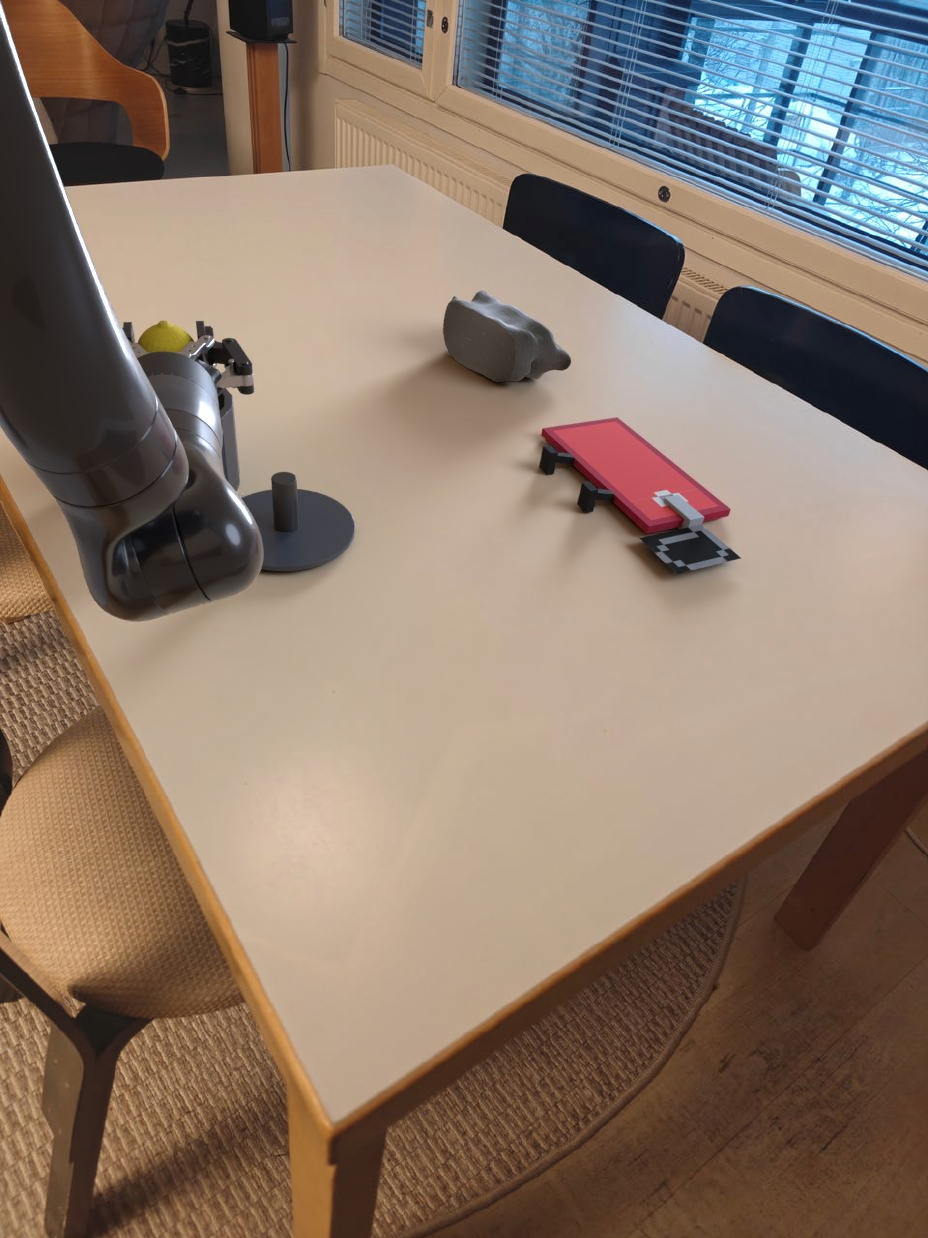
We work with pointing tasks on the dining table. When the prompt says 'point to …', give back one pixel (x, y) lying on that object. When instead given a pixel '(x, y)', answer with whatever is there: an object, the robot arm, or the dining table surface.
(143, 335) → the lemon
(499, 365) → the rock
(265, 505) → the pot lid
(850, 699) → the dining table surface
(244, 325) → the dining table surface
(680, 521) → the red board with handle
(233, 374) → the robot arm
